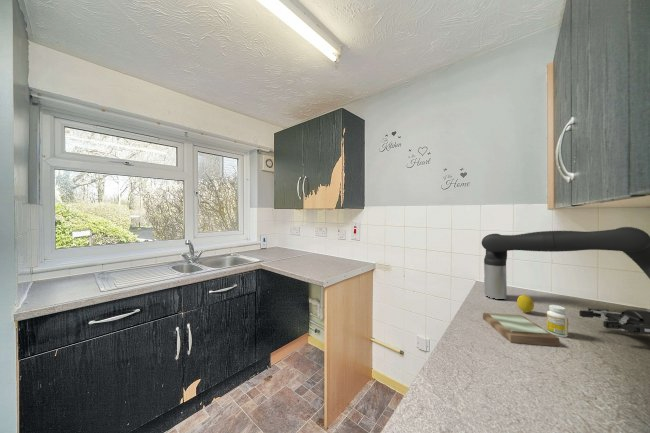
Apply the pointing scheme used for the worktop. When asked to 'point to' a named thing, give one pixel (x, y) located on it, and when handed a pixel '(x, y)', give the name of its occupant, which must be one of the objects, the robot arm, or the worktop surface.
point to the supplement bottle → (557, 321)
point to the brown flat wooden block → (520, 329)
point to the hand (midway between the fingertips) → (591, 318)
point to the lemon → (525, 303)
